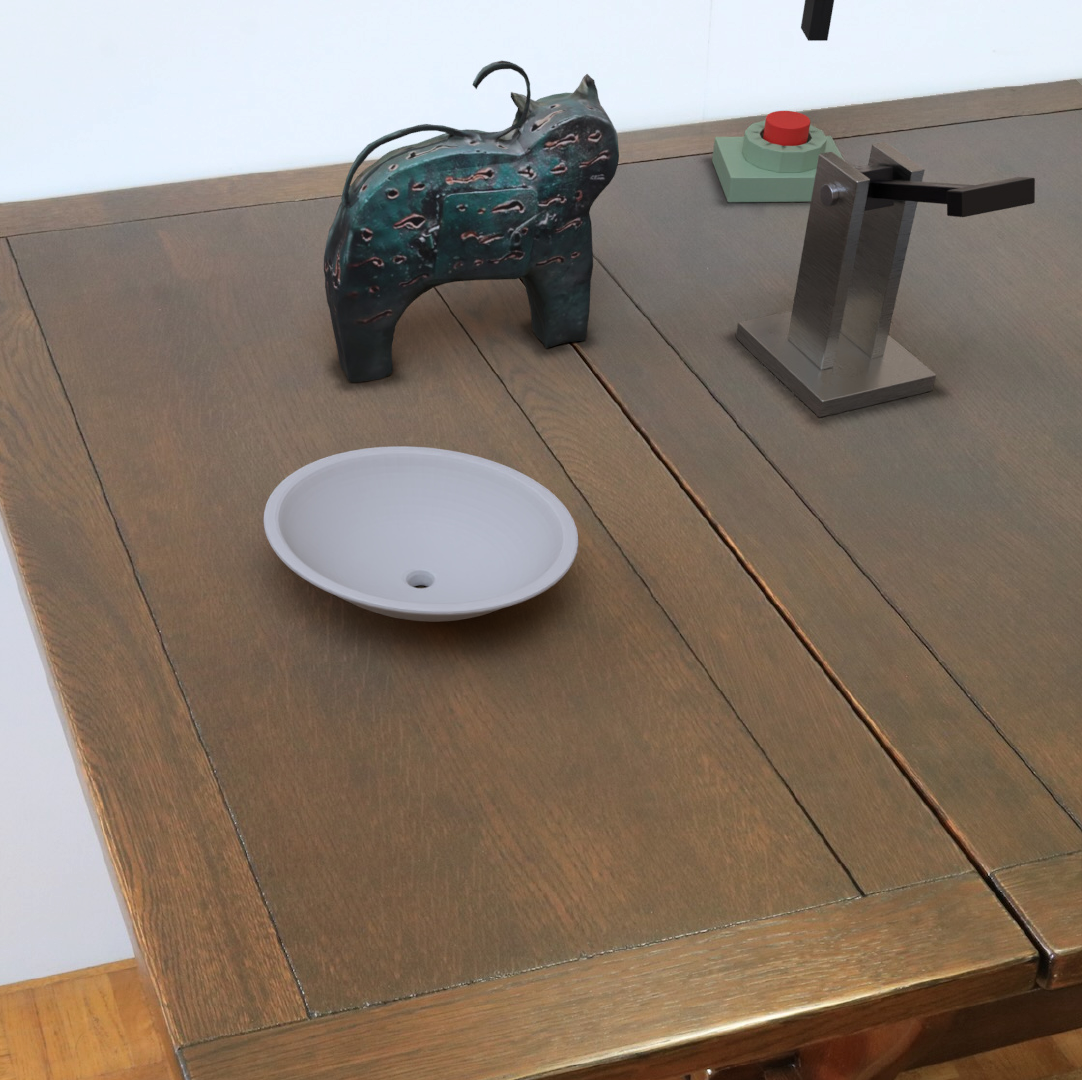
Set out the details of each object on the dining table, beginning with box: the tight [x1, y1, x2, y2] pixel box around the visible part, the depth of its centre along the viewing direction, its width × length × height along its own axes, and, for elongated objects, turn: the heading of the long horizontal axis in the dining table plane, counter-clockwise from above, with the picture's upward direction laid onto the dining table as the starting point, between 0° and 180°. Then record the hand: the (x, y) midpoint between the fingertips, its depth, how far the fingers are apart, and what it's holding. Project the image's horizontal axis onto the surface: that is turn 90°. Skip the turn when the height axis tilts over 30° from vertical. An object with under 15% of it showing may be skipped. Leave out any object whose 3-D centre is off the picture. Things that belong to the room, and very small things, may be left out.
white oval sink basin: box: [263, 445, 579, 622], centre depth 85 cm, size 18×14×5 cm
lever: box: [854, 165, 1036, 218], centre depth 92 cm, size 14×5×2 cm, turn 22°
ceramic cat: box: [323, 60, 620, 383], centre depth 100 cm, size 20×6×20 cm, turn 110°
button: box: [763, 110, 811, 146], centre depth 125 cm, size 4×4×2 cm
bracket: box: [735, 141, 937, 418], centre depth 101 cm, size 11×9×15 cm
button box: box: [711, 119, 845, 203], centre depth 126 cm, size 10×8×4 cm
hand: (814, 33), depth 117 cm, fingers closed
